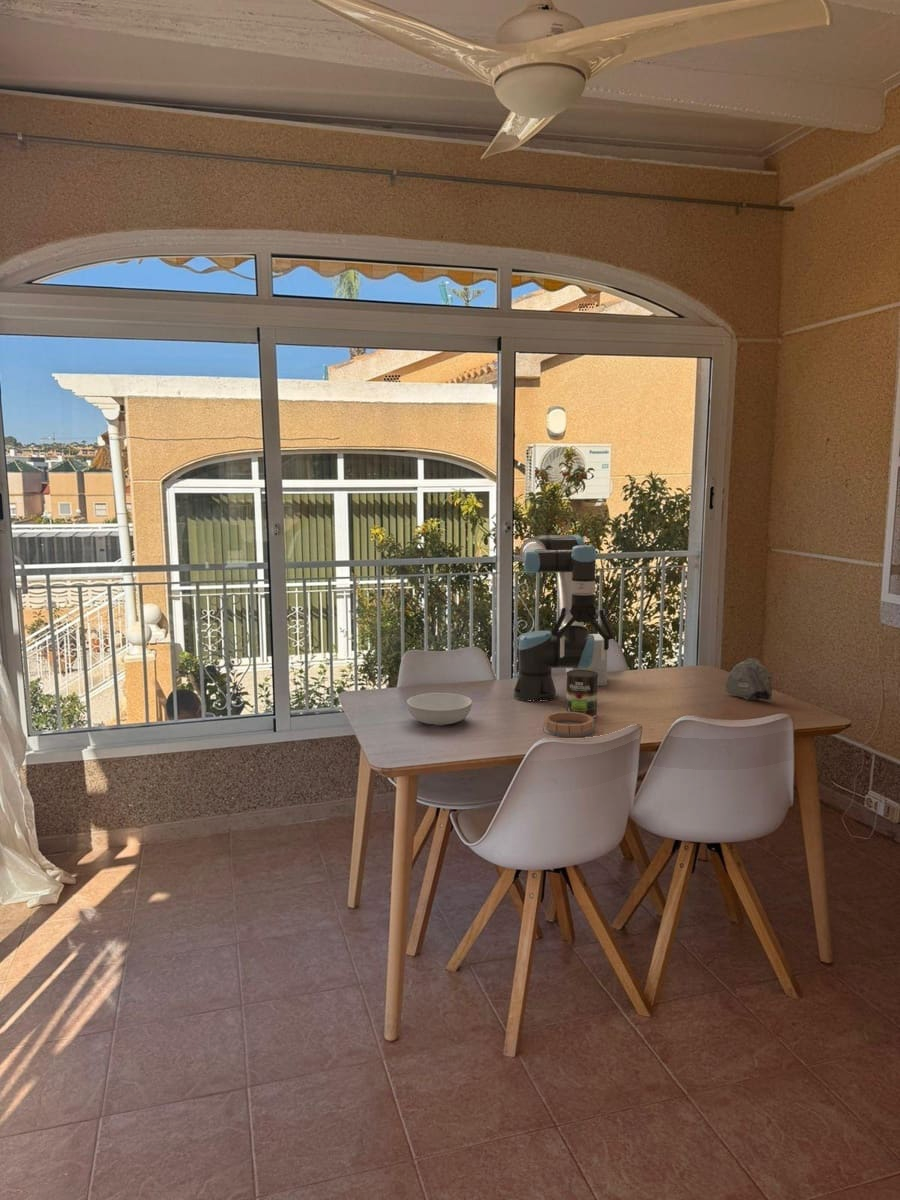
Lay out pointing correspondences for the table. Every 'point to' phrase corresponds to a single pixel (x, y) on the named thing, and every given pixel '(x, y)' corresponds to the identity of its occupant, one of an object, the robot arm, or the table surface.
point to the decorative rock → (749, 681)
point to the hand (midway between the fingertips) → (582, 658)
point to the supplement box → (596, 661)
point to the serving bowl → (439, 708)
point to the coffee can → (582, 692)
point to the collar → (569, 724)
